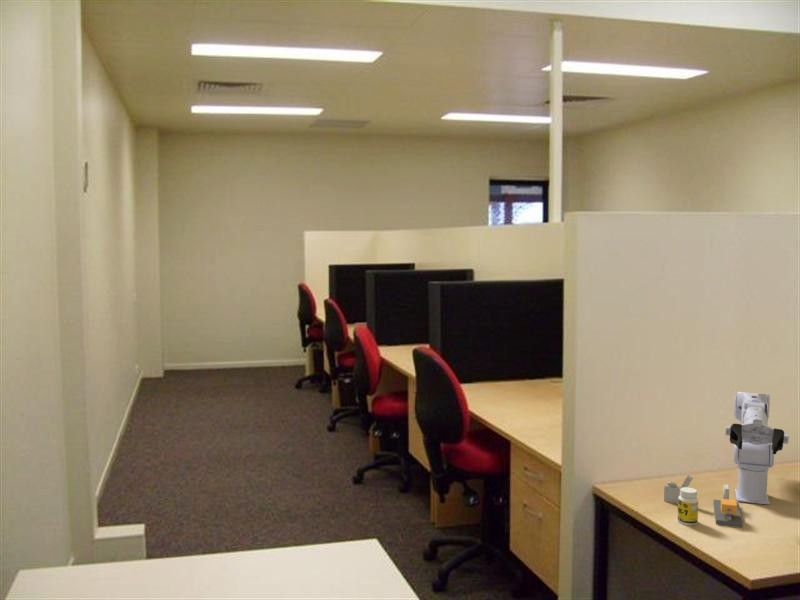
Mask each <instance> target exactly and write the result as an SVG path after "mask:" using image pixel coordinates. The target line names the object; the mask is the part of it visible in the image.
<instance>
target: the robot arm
mask: <svg viewBox="0 0 800 600" xmlns="http://www.w3.org/2000/svg"><path fill="white" fill-rule="evenodd" d="M770 402H771V397H770V394H769V393H768V392H765V393H759V392H748V391H747V392H744V391H738V392H737V394H736V396H735V397H734V396H733V416H734V418H735V419H737V420H738V421H739V422H740V423H732V424H731V425H728V424H727V425H725V433H724V434H725V436H727V437H728V436H729V442H730V444H733V462H734V464H736V465H738V471H737V477H738V478H737V488H734V493H735V498H736V499H735V500H736V502H740V503H741V502H742V503H752V504H760V505H761V504H762V505H770V504H771V503H770V500H769V496H768V473H769V470H770V469H771V468H772V467H774V463H775V455H777V453H778V452H779V451H782V450H783V448H784V444H787V445H788V444H789V437H790V435H789V433H787V432H785V431H784V430H783V429H781V428H773V427H771V426H769V424H768V422H769V417H770V414H769V413H770Z"/></svg>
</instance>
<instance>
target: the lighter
mask: <svg viewBox="0 0 800 600" xmlns="http://www.w3.org/2000/svg"><path fill="white" fill-rule="evenodd" d="M693 479H694V477H693V476H691V475H690V474H689V475H687V476H686V478H685V479H684V481H683V483H682V485H681V486H678V483H677V482H672V481H669V482H667V483H666V484H665V485H664V486H663V488H664V489H663V502H666V503H671V504H677V505H678V497H679V496H680V489H681V488H683V487H689V486H690V485H691V482H692V480H693Z"/></svg>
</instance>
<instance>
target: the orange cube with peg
mask: <svg viewBox="0 0 800 600" xmlns="http://www.w3.org/2000/svg"><path fill="white" fill-rule="evenodd" d="M720 500H721V513H724V514H729V515H737V503H736V502H737V499H730V498H729V499H723V498H720Z"/></svg>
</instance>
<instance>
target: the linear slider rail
mask: <svg viewBox="0 0 800 600" xmlns="http://www.w3.org/2000/svg"><path fill="white" fill-rule="evenodd" d="M722 490H723V491H722V493H723V494H722V495H723V497H722V499H729V500H730V485H729V484H723V489H722ZM736 503H737V515H729V514H724V513H721V499H713V510H714V511H713V512H714V519H715V525H717V524H718V526H725V527H726V526H727V527H734V528H743V519H742V515H741V510H740V506H739V501H736Z"/></svg>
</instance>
